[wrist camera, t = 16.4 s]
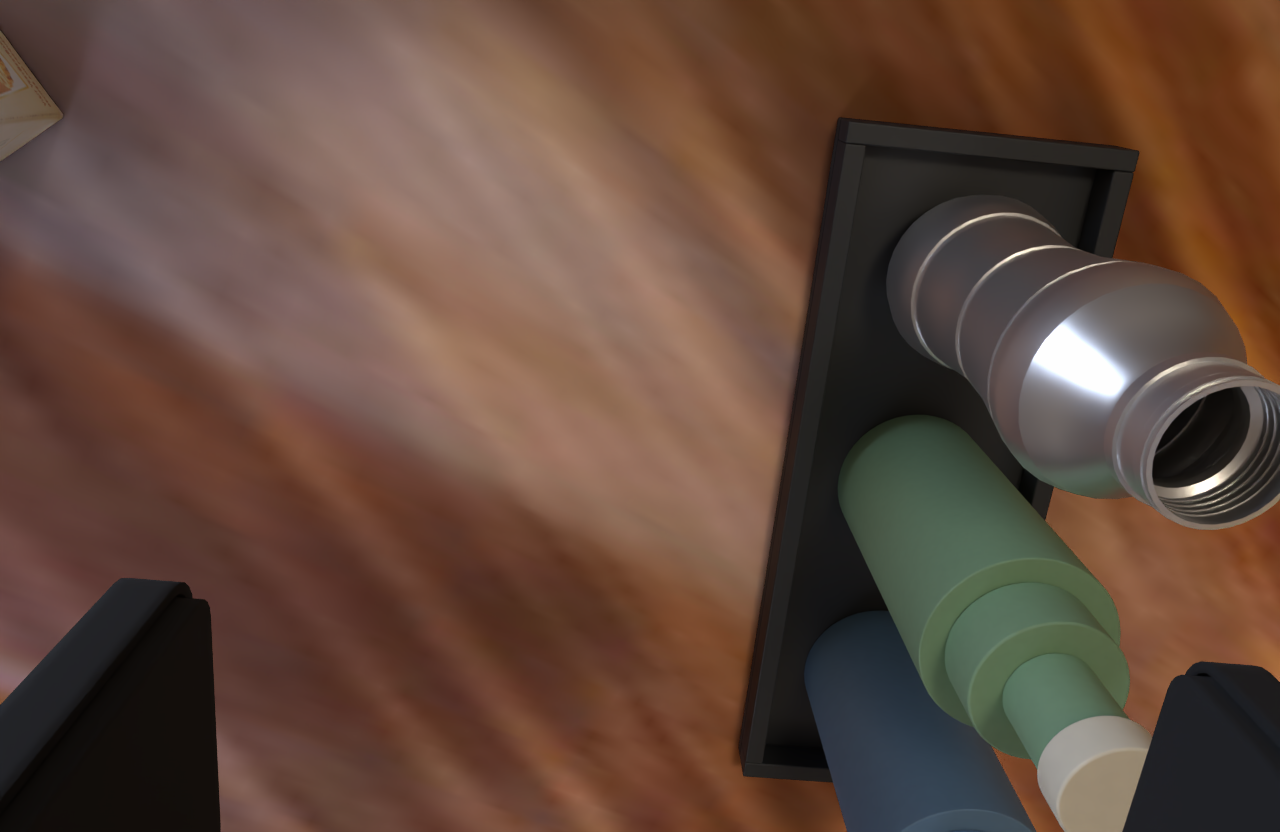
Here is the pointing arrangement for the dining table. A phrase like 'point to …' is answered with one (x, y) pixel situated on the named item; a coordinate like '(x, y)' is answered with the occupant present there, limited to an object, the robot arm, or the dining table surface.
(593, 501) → the dining table surface
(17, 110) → the coffeecake box
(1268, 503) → the silver metal bottle
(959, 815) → the blue bottle
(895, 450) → the green bottle
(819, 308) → the tray
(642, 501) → the dining table surface
